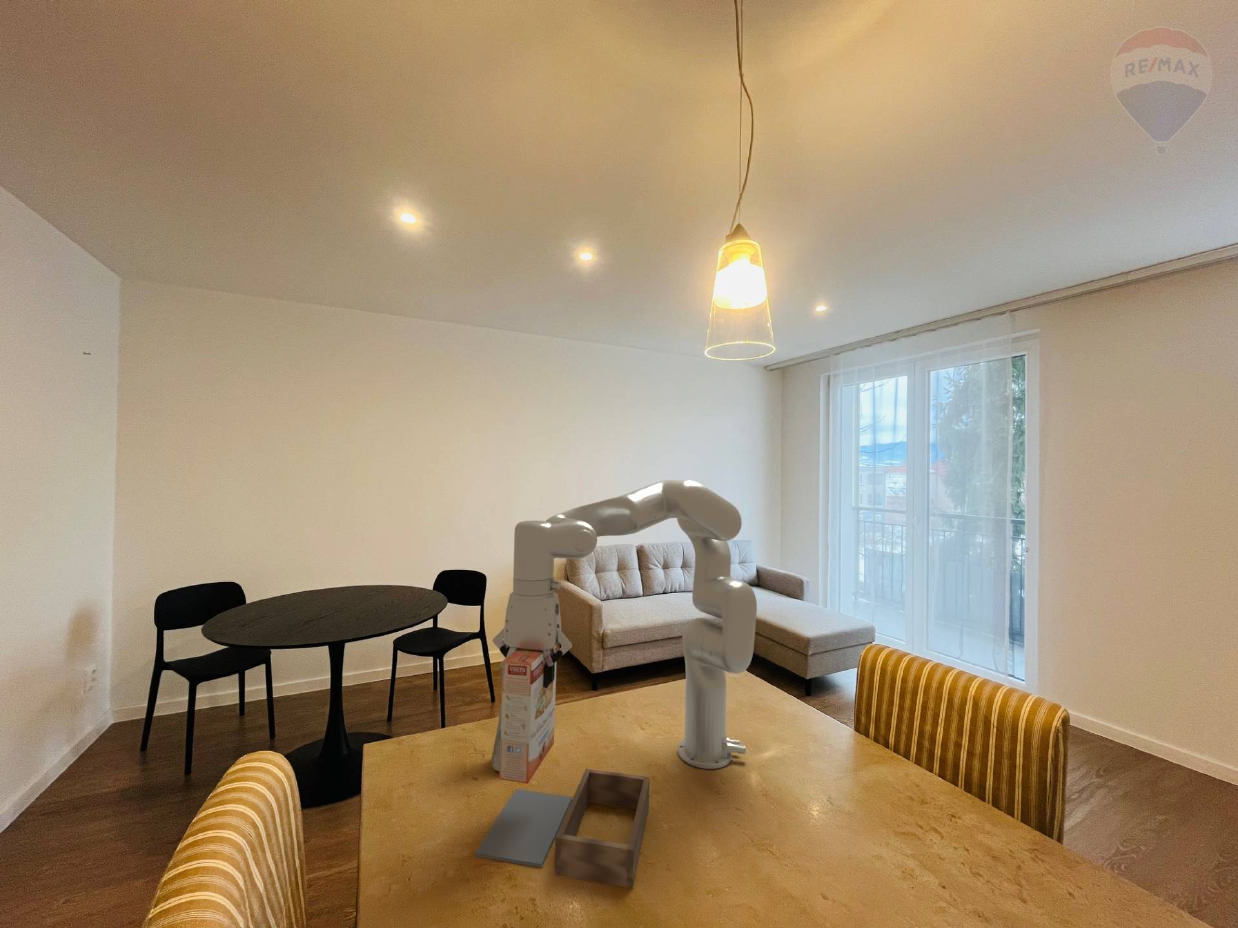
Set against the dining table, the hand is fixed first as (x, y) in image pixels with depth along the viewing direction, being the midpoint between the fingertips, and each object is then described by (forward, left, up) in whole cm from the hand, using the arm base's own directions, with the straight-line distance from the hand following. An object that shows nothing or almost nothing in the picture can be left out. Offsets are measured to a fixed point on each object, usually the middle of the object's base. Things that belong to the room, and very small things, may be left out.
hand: (531, 682), depth 94 cm
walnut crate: (-15, 0, -26) cm, 30 cm away
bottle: (+11, -18, -27) cm, 34 cm away
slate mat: (0, 0, -26) cm, 26 cm away
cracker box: (0, 0, -15) cm, 15 cm away
